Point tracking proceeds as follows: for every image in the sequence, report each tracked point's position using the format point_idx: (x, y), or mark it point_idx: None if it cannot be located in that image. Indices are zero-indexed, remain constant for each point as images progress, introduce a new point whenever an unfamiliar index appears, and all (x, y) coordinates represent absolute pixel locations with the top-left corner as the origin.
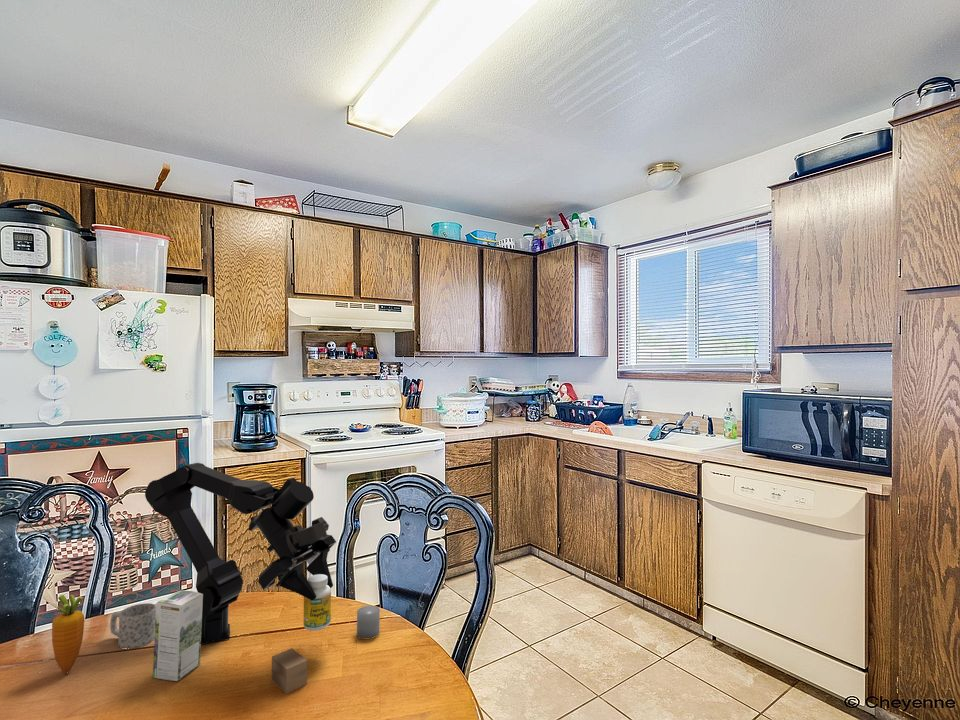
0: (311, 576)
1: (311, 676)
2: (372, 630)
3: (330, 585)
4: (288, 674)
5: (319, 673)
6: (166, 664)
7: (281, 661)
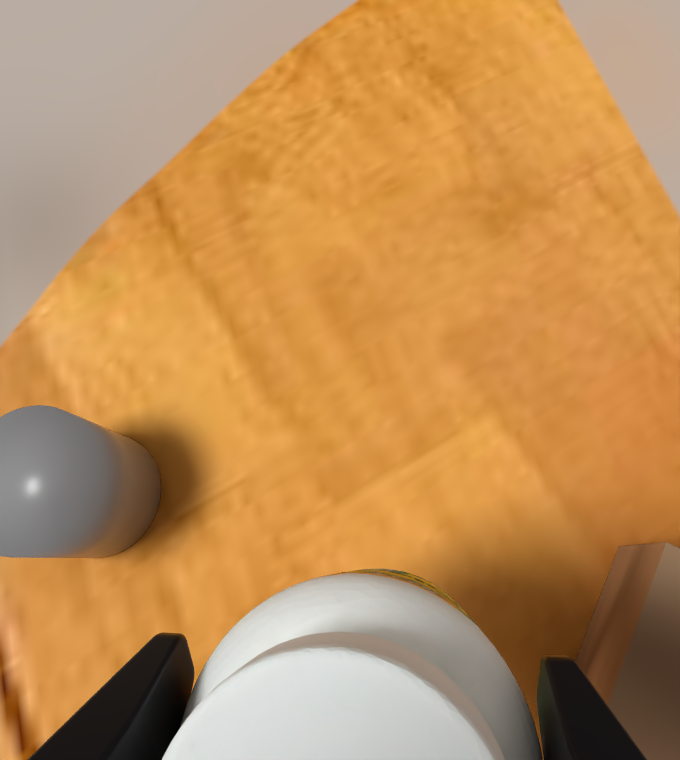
0: None
1: (554, 561)
2: (126, 439)
3: (179, 662)
4: None
5: (515, 535)
6: None
7: None
